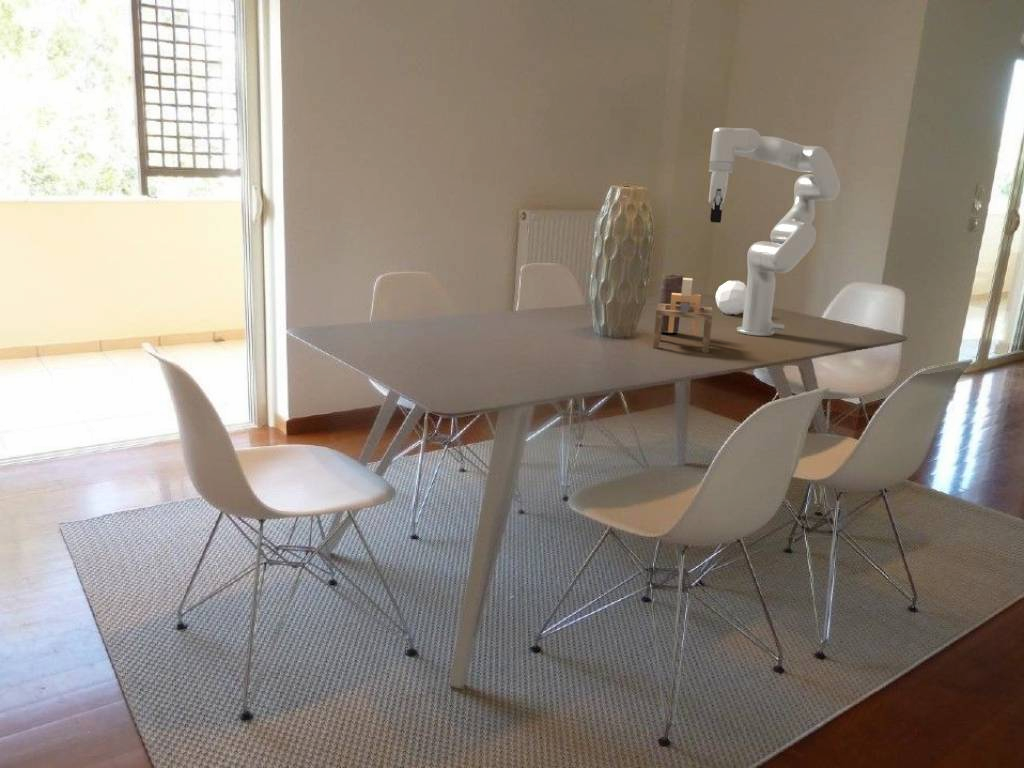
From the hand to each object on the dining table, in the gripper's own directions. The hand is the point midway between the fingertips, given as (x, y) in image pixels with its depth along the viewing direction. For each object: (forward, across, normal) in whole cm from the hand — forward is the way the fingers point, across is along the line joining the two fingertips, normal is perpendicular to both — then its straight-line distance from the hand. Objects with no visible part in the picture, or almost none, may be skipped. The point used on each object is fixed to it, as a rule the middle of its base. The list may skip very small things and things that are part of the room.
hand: (715, 221), depth 286 cm
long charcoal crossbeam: (+26, +20, -7) cm, 34 cm away
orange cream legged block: (+34, +20, -7) cm, 40 cm away
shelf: (+38, +20, -7) cm, 44 cm away
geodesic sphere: (+38, -50, +11) cm, 64 cm away
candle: (+38, +1, -12) cm, 40 cm away
